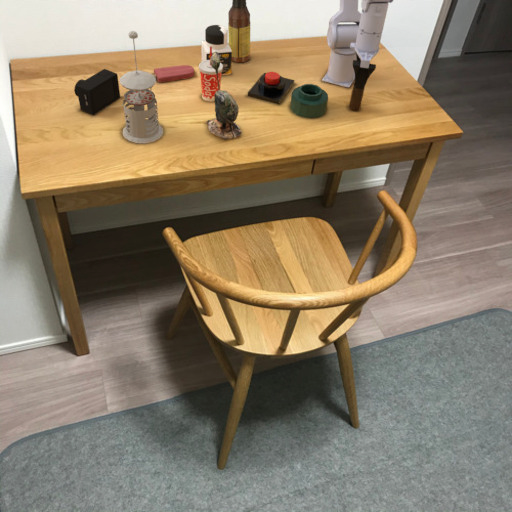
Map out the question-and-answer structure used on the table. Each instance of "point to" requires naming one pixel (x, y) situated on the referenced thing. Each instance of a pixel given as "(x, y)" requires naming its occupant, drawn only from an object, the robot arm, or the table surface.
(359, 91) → the brown cylinder
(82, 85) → the digital camera
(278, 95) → the button box
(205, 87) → the beverage cup
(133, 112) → the french press
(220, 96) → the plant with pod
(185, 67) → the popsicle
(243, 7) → the sauce bottle
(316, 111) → the green stepped cylinder
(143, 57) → the table surface
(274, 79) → the button
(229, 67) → the medicine bottle
